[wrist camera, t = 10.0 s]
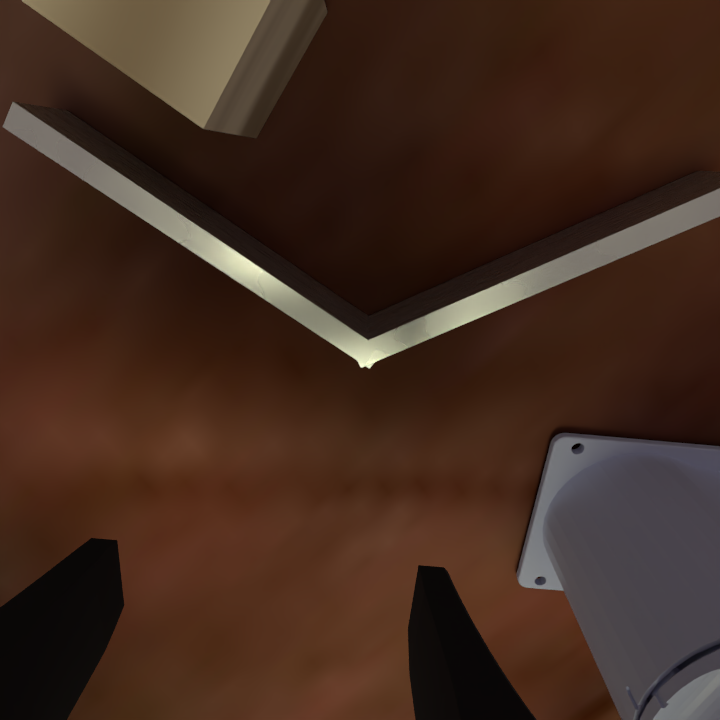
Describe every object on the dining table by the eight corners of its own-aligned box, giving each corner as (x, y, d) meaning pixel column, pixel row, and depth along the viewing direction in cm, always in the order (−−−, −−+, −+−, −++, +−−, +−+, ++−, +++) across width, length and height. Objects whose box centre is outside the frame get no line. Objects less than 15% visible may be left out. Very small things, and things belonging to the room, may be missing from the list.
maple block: (327, 12, 16) (305, -66, 10) (256, 138, 17) (203, 128, 12) (203, -87, 15) (106, -231, 10) (139, 54, 16) (21, 0, 11)
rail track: (827, -199, 14) (932, -282, 11) (647, 366, 20) (688, 397, 17) (8, -288, 14) (-78, -393, 11) (79, 315, 20) (35, 339, 17)
